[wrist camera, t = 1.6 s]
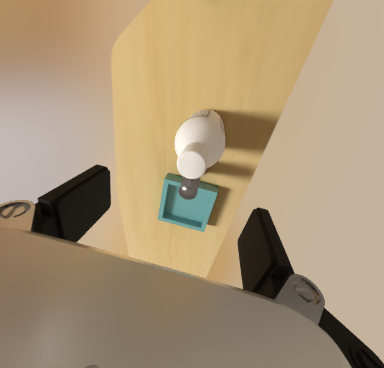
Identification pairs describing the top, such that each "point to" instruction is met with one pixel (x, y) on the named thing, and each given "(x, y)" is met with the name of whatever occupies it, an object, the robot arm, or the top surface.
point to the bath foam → (199, 143)
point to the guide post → (189, 188)
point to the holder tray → (186, 204)
